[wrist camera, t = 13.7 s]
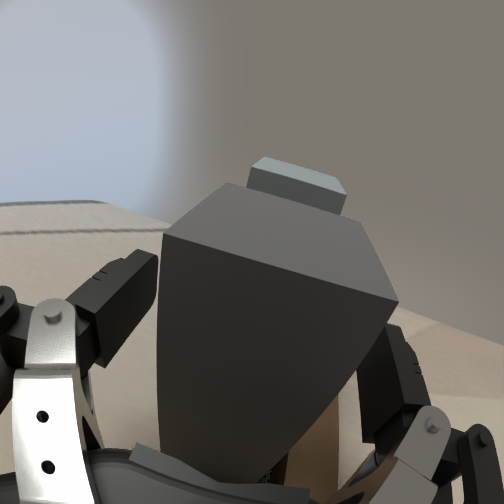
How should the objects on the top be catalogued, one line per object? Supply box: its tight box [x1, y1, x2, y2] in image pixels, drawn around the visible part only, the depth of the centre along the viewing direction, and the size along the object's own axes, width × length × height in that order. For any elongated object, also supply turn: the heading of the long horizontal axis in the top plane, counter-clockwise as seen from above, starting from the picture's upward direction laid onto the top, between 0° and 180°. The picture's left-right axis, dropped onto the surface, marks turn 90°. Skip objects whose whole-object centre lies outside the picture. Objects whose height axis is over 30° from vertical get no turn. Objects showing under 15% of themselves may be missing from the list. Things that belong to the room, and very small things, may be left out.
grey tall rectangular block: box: [157, 183, 399, 484], centre depth 9 cm, size 4×4×12 cm
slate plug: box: [246, 157, 347, 215], centre depth 15 cm, size 4×4×12 cm
